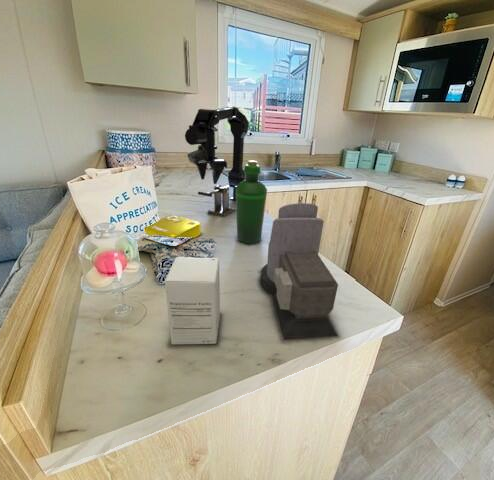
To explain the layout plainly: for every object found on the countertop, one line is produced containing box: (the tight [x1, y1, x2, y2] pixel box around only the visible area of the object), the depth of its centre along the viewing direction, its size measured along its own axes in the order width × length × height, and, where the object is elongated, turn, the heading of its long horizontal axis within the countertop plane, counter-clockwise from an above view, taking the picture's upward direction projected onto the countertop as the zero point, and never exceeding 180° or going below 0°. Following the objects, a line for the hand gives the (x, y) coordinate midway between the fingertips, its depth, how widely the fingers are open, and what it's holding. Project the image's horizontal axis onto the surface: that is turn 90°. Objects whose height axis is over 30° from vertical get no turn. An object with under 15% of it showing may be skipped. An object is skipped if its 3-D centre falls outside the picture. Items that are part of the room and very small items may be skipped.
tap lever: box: [197, 186, 224, 198], centre depth 116 cm, size 15×6×2 cm, turn 159°
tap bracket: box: [207, 184, 236, 217], centre depth 123 cm, size 10×8×12 cm
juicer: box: [260, 202, 339, 340], centre depth 66 cm, size 30×16×24 cm, turn 10°
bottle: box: [235, 159, 268, 245], centre depth 95 cm, size 11×11×28 cm
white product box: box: [164, 256, 221, 345], centre depth 55 cm, size 9×9×15 cm
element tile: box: [144, 214, 202, 239], centre depth 97 cm, size 15×15×5 cm
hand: (208, 181), depth 118 cm, fingers open, 9 cm apart
